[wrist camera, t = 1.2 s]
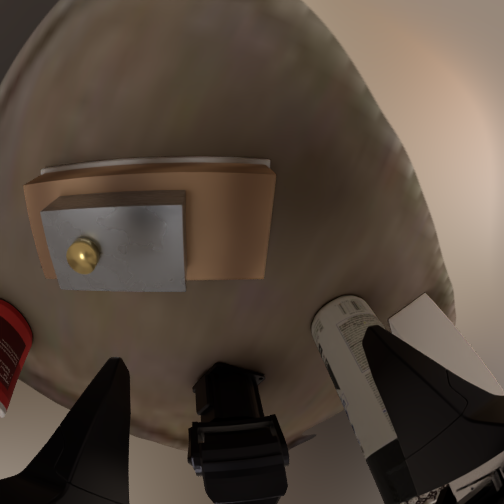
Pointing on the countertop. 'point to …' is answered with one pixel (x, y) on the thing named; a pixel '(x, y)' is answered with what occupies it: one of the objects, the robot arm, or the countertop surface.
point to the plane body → (197, 206)
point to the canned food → (11, 350)
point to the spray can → (362, 393)
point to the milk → (442, 342)
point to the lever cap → (118, 240)
